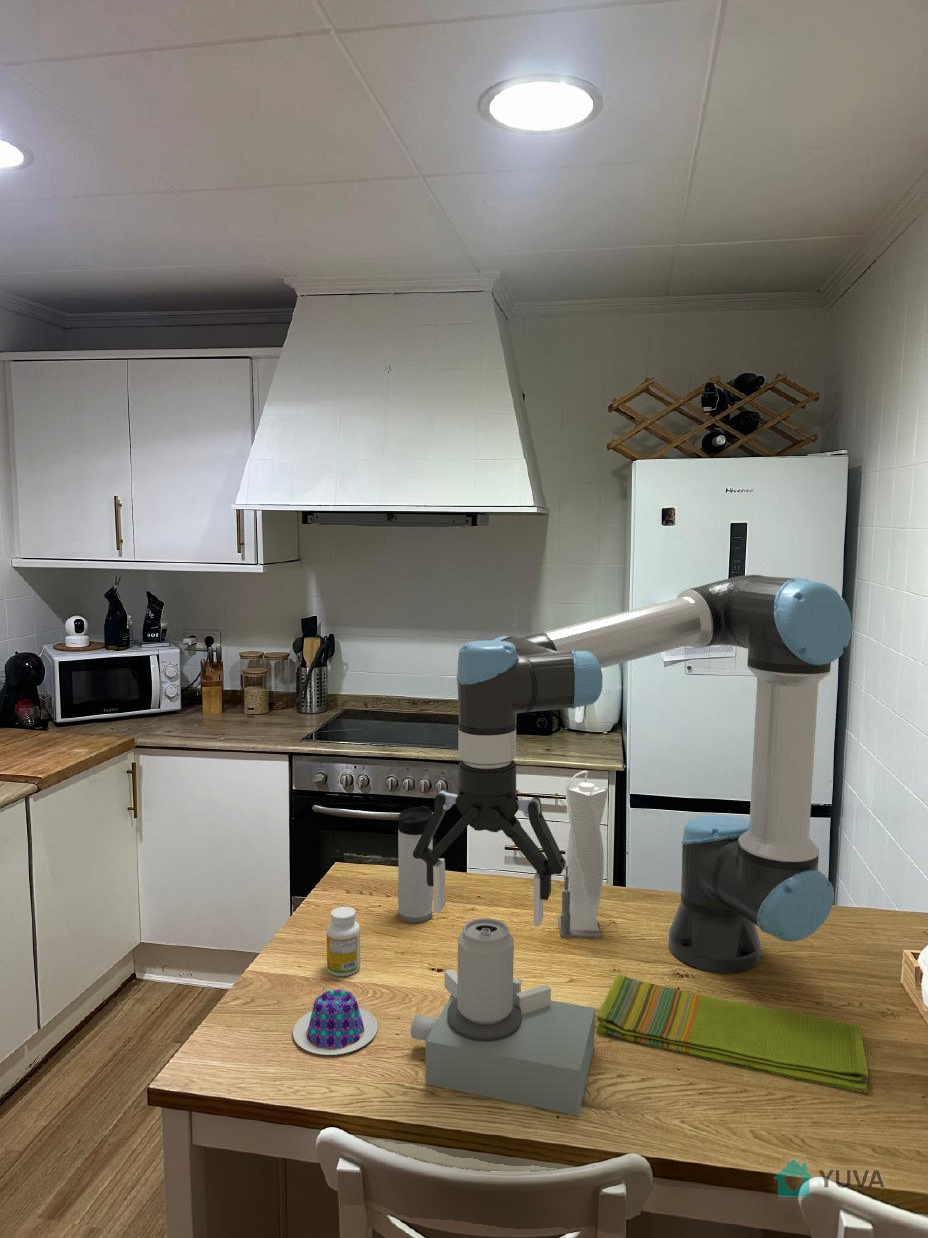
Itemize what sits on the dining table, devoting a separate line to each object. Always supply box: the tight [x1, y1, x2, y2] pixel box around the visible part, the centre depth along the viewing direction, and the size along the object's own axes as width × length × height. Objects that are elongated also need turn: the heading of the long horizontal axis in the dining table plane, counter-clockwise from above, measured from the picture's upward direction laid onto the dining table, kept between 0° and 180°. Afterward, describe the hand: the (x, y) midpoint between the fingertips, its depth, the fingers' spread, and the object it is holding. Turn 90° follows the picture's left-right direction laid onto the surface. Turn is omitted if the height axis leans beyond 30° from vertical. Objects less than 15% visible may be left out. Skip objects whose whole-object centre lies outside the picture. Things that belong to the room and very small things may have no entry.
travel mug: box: [397, 805, 434, 924], centre depth 155 cm, size 6×7×20 cm
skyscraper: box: [557, 769, 609, 939], centre depth 151 cm, size 8×8×28 cm
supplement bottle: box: [326, 906, 361, 977], centre depth 137 cm, size 5×5×10 cm
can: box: [457, 917, 515, 1025], centre depth 113 cm, size 8×8×12 cm
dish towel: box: [595, 973, 869, 1093], centre depth 122 cm, size 15×36×3 cm, turn 69°
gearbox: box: [410, 968, 596, 1117], centre depth 114 cm, size 24×14×8 cm, turn 74°
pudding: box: [292, 988, 378, 1056], centre depth 121 cm, size 12×12×5 cm
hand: (488, 915), depth 113 cm, fingers open, 13 cm apart
